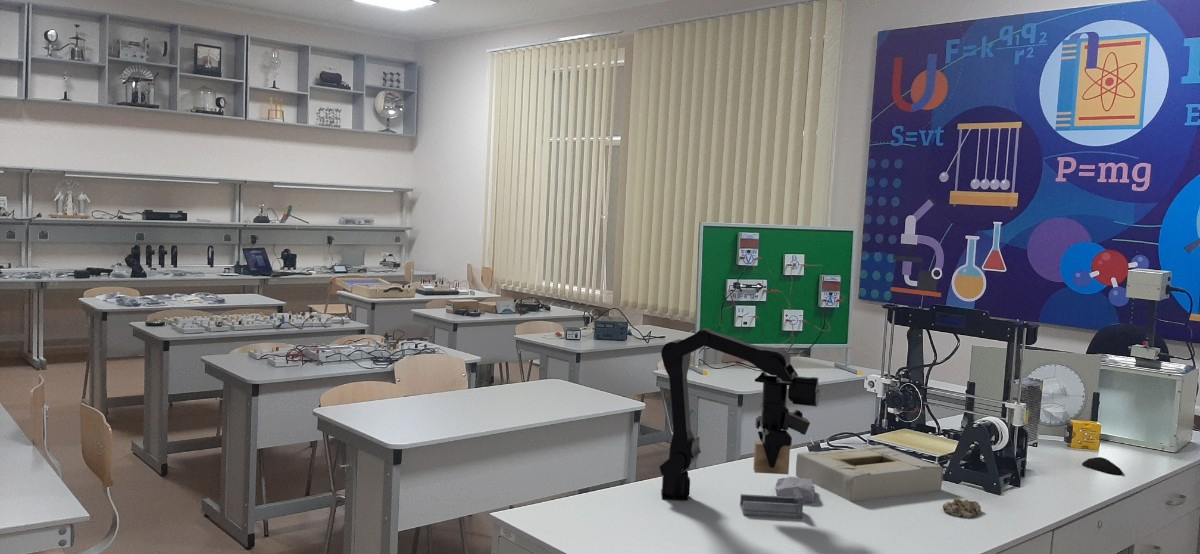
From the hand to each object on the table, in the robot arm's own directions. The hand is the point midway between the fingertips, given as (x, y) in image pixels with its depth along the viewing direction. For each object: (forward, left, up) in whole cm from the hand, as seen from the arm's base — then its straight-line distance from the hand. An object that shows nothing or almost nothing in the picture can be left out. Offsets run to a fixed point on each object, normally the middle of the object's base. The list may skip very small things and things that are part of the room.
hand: (771, 465), depth 211 cm
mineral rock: (+50, +9, -12) cm, 52 cm away
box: (+32, +30, -12) cm, 45 cm away
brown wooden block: (0, 0, -2) cm, 2 cm away
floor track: (+1, +1, -12) cm, 12 cm away
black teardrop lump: (+111, +56, -13) cm, 125 cm away
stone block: (+9, +15, -12) cm, 22 cm away
